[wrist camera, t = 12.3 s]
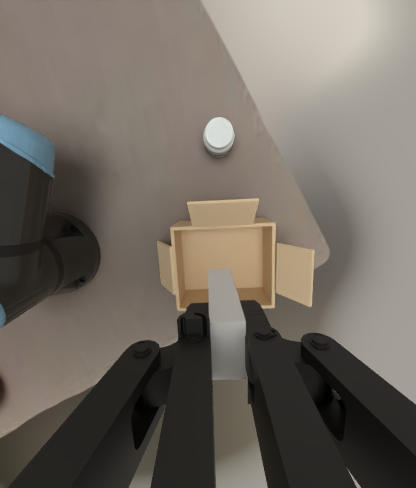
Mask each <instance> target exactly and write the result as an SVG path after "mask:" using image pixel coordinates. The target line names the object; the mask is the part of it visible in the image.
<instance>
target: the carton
mask: <svg viewBox="0 0 416 488" xmlns="http://www.w3.org/2000/svg"><path fill="white" fill-rule="evenodd" d="M170 231H171V243H172V255H173V267H174V279H175V291H176V303H177V311H186V308H187V307H188V306H189V305H190V304H191V303H206V302H209V294H208V270H215V269H231V273H232V276H233V280H234V283H235V286H236V290H237V293H238V297H239V300H255V301H257V302H258V303H259V304H260V305H261V307H262V308H275V238H276V222H274V221H272V220H270V219H268V218H266V217H255V219H254V223H253V224H246V225H224V226H201V227H192V223H191V220H190V221H177V222H176V223H175V224H174V225H172V226H171V227H170Z"/></svg>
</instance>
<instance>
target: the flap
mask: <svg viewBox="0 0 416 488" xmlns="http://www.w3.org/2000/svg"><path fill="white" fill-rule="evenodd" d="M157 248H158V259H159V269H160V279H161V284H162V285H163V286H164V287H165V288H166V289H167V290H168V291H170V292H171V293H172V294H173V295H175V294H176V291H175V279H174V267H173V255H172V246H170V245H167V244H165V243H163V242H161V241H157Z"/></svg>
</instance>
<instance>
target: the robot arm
mask: <svg viewBox="0 0 416 488" xmlns="http://www.w3.org/2000/svg"><path fill="white" fill-rule="evenodd" d="M54 161H55V149H54V146H53V145H52V143H51V142H50V141H49V139H47V138H46V137H45V136H44V135H42V134H40V133H39V132H37V131H35V130H33V129H31V128H29V127H27V126H25V125H23V124H21V123H19V122H17V121H14V120H12V119H10V118H8V117H6V116H3V115H1V114H0V329H1V328H2V327H3V326H4V325H6V324H8V323H9V322H11V321H12V320H14V319H15V318H17V317H18V316H20V315H21V314H23V313H24V312H26V311H27V310H29V309H30V308H32V307H33V306H35V305H36V304H38V303H39V302H41V301H42V300H44V299H45V298H47V297H49V296H51V295H57V294H62V293H68V292H71V291H74V290H77V289H79V288H80V287H82V286H83V285H85V284H86V283H87V282H89V281H90V280H91V279H92V278H93V277H94V275H95V274H96V272H97V270H98V267H99V263H100V249H99V245H98V242H97V240H96V238H95V236H94V234H93V233H92V232H91V230H90V229H89V228H88V227H87V226H86V225H85V224H84V223H83V222H81V221H80V220H78V219H76V218H74V217H72V216H70V215H66V214H61V213H51V214H48V209H49V202H50V195H51V189H52V182H53V180H54V179H55V175H54V174H53V172H54ZM208 294H209V302H206V303H191V304H190V305H189V306H188V307H187V308H186V313H184V314H182V315H180V316H179V317H178V319H177V325H178V341H177V342H176V343H174V344H172V345H169V346H166V347H162V348H160V347H159V344H157V343H156V342H154V341H151V340H144V341H139V342H136V343H134V344H132V345H131V346H130V347H129V348H127V349H126V351H125V352H124V353H123V354H122V355H121V356H120V358H119V359H118V360H117V361H116V362H115V363H114V364H113V366H112V367H111V368H110V369H109V370H108V371H107V373H106V374H105V375H104V376H103V377H102V378H101V380H100V381H99V382H98V383H97V384H96V385H95V387H94V388H93V389H92V390H91V391H90V392H89V394H88V395H87V396H86V397H85V398H84V400H83V401H82V402H81V403H80V404H79V405H78V406H77V408H76V409H75V410H74V411H73V412H72V413H71V415H70V416H69V417H68V418H67V419H66V421H65V422H64V423H63V424H62V425H61V426H60V427H59V429H58V430H57V431H56V432H55V433H54V434H53V436H52V437H51V438H50V439H49V440H48V441H47V443H46V444H45V445H44V446H43V447H42V448H41V450H40V451H39V452H38V453H37V454H36V455H35V457H34V458H33V459H32V460H31V461H30V462H29V463H28V465H27V466H26V467H25V468H24V469H23V471H22V472H21V473H20V474H19V475H18V476H17V478H16V479H15V480H14V481H13V482H12V483H11V484H10V486H9V487H8V488H128V487H129V485H130V483H131V481H132V478H133V476H134V474H135V472H136V470H137V468H138V465H139V463H140V461H141V459H142V456H143V454H144V452H145V450H146V448H147V446H148V444H149V441H150V439H151V437H152V435H153V433H154V430H155V428H156V426H157V424H158V422H159V419H160V417H161V415H162V413H163V411H164V407H165V404H166V408H165V413H164V418H163V424H162V429H161V434H160V440H159V445H158V450H157V456H156V462H155V466H154V472H153V477H152V483H151V488H216V477H215V446H214V415H213V385H212V380H223V379H246V372H247V376H248V404H251V407H252V411H253V416H254V421H255V426H256V431H257V437H258V441H259V446H260V451H261V456H262V461H263V466H264V471H265V476H266V481H267V486H268V488H357V487H356V485H355V483H354V481H353V479H352V477H351V475H350V473H351V474H352V475H353V477H354V478H355V480H356V481H357V482H358V484H359V485H360V487H361V488H416V405H415V404H414V403H413V402H412V401H410V400H409V399H408V398H407V397H405V396H404V395H403V394H402V393H400V392H399V391H398V390H397V389H395V388H394V387H393V386H392V385H390V384H389V383H388V382H386V381H385V380H384V379H383V378H381V377H380V376H379V375H378V374H376V373H375V372H374V371H373V370H371V369H370V368H369V367H368V366H366V365H365V364H364V363H363V362H361V361H360V360H359V359H357V358H356V357H355V356H354V355H353V354H351V353H350V352H349V351H348V350H346V349H345V348H344V347H342V346H341V345H340V344H339V343H337V342H336V341H335V340H334V339H332V338H330V337H328V336H326V335H323V334H319V333H308V334H306V335H303V337H302V338H301V342H295V341H290V340H286V339H283V338H281V335H280V333H279V332H278V331H277V330H276V329H274V328H272V327H271V326H270V324H269V322H268V320H267V318H266V315H265V314H264V311H263V309H262V307H261V305H260V304H259V303H258V302H257V301H255V300H239V297H238V293H237V290H236V286H235V283H234V280H233V276H232V273H231V269H215V270H208ZM347 468H348V469H347ZM348 470H349V471H350V473H349V471H348Z"/></svg>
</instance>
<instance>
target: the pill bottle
mask: <svg viewBox="0 0 416 488" xmlns="http://www.w3.org/2000/svg"><path fill="white" fill-rule="evenodd" d="M234 138H235V134H234V130H233V127H232V125H231V123H230V122H229V121H228V120H226V119H225V118H221V117H217V118H214V119H212V120H211V121H210V122H209V123H208V124H207V126H206V128H205V130H204V133H203V141H204V144H205V148H206V151H207V152H208V154H209V155H211V156H212V157H215V158H221V157H224V156H226V155H227V154H228V153H229V152H230V150H231V147H232V145H233V142H234Z"/></svg>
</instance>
